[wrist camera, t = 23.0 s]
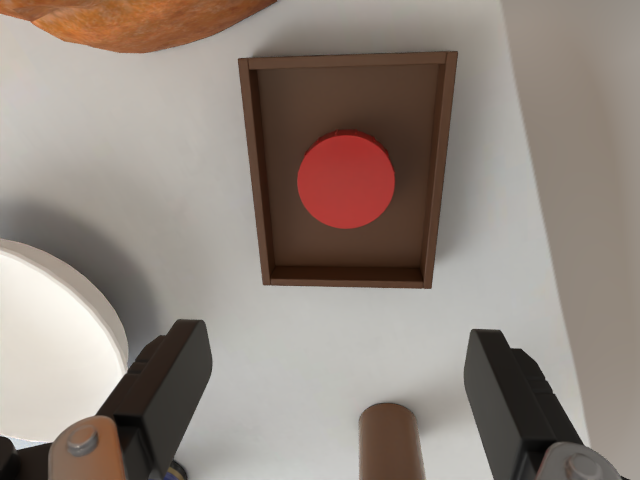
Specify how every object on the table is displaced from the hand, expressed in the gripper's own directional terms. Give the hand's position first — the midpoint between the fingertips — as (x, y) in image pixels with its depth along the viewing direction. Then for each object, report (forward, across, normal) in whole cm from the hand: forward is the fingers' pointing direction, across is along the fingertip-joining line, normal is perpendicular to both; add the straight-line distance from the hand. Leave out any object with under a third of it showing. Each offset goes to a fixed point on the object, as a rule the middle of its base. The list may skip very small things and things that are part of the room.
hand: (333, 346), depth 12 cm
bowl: (+18, +26, +12) cm, 34 cm away
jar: (+18, -4, +25) cm, 30 cm away
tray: (+17, 0, 0) cm, 17 cm away
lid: (+15, 0, 0) cm, 15 cm away
